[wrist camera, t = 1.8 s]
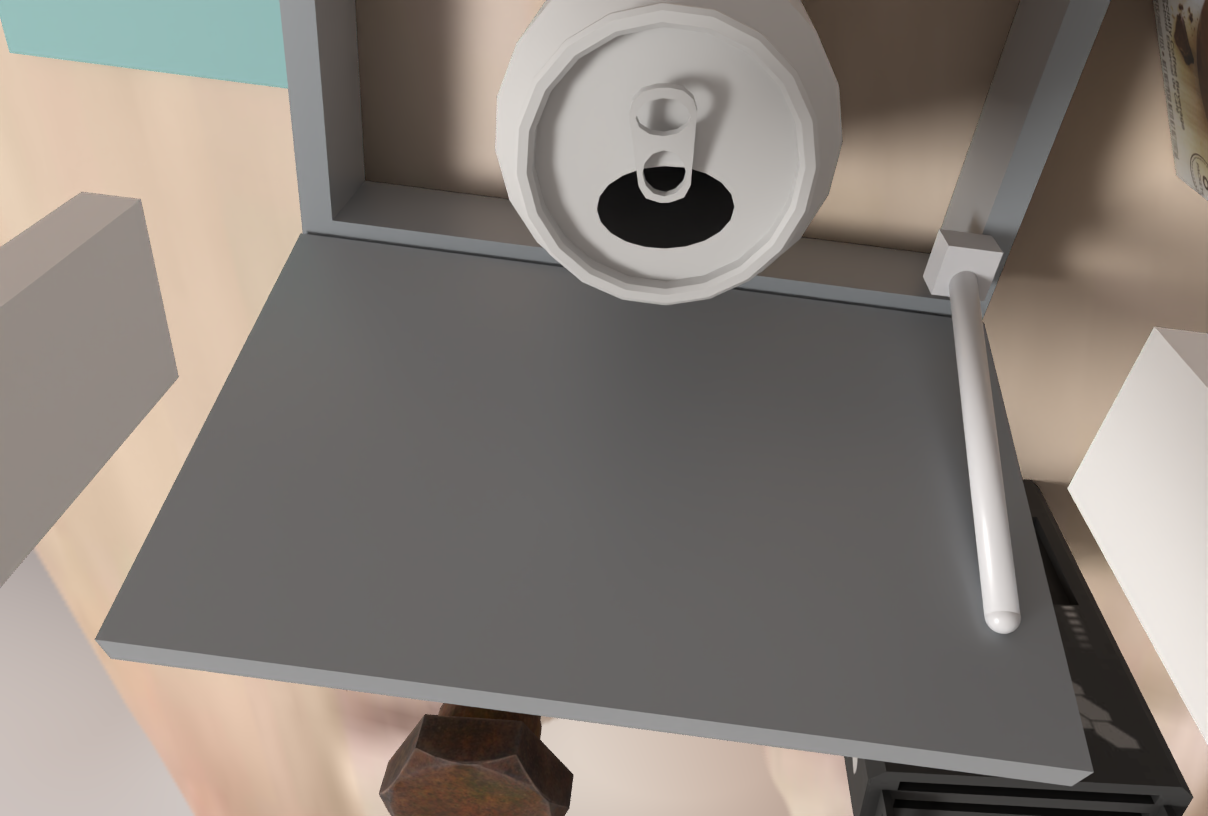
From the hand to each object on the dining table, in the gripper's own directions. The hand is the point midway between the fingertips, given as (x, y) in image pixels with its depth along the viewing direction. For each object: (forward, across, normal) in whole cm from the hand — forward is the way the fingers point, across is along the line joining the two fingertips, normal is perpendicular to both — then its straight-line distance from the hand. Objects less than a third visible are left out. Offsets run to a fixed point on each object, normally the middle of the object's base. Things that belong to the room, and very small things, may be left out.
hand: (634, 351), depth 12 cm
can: (+19, 0, 0) cm, 19 cm away
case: (+19, 0, +2) cm, 19 cm away
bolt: (+19, +3, +19) cm, 27 cm away
